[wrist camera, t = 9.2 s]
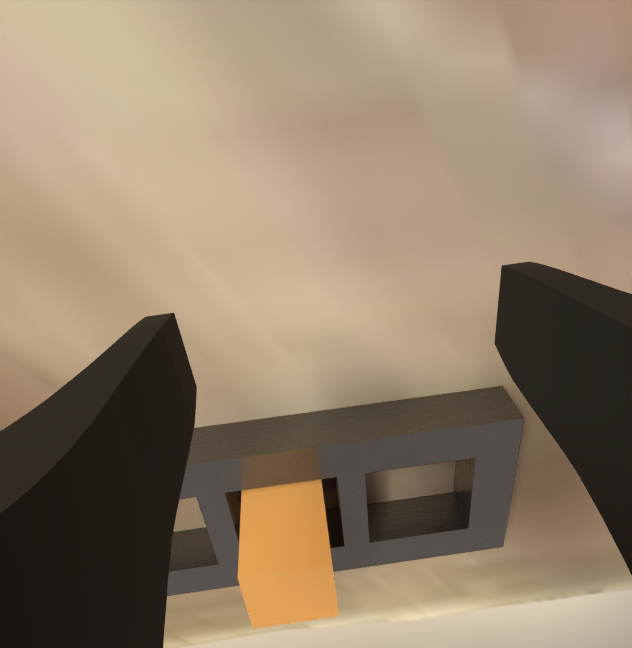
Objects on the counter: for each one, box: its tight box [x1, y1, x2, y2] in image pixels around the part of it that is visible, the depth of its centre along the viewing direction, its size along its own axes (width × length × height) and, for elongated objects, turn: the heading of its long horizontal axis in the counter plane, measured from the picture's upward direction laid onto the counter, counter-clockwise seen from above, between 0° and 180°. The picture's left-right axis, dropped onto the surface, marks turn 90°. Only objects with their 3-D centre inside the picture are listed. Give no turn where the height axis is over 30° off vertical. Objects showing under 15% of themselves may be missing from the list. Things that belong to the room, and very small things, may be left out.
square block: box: [238, 479, 339, 629], centre depth 25 cm, size 4×4×7 cm
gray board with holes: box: [167, 386, 524, 596], centre depth 27 cm, size 24×10×2 cm, turn 96°
